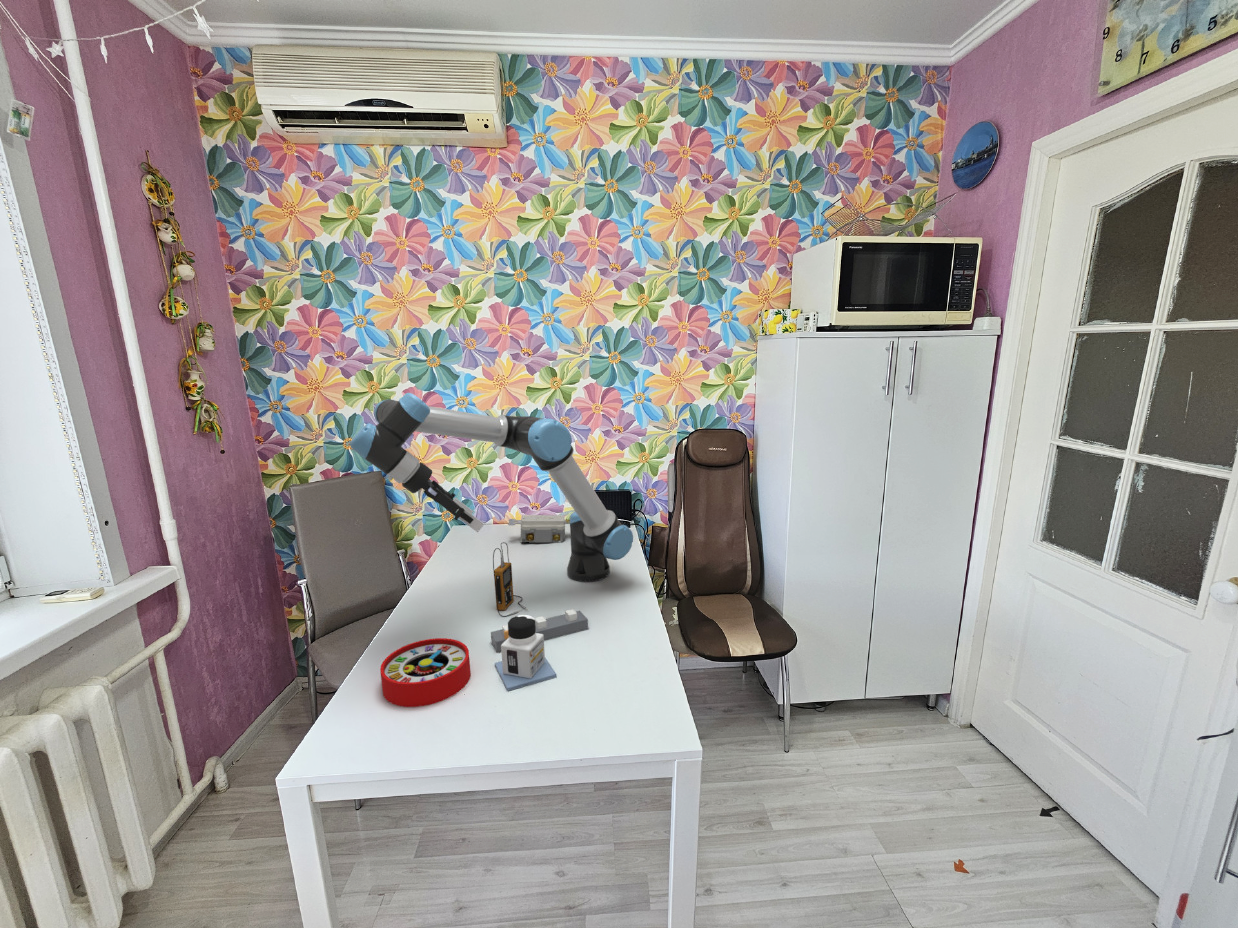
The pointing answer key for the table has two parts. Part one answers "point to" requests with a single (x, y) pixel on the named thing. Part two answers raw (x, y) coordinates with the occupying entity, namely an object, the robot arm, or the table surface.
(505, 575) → the multimeter
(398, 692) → the toy clock
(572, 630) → the breaker panel
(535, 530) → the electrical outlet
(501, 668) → the pad
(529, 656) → the container
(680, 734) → the table surface
